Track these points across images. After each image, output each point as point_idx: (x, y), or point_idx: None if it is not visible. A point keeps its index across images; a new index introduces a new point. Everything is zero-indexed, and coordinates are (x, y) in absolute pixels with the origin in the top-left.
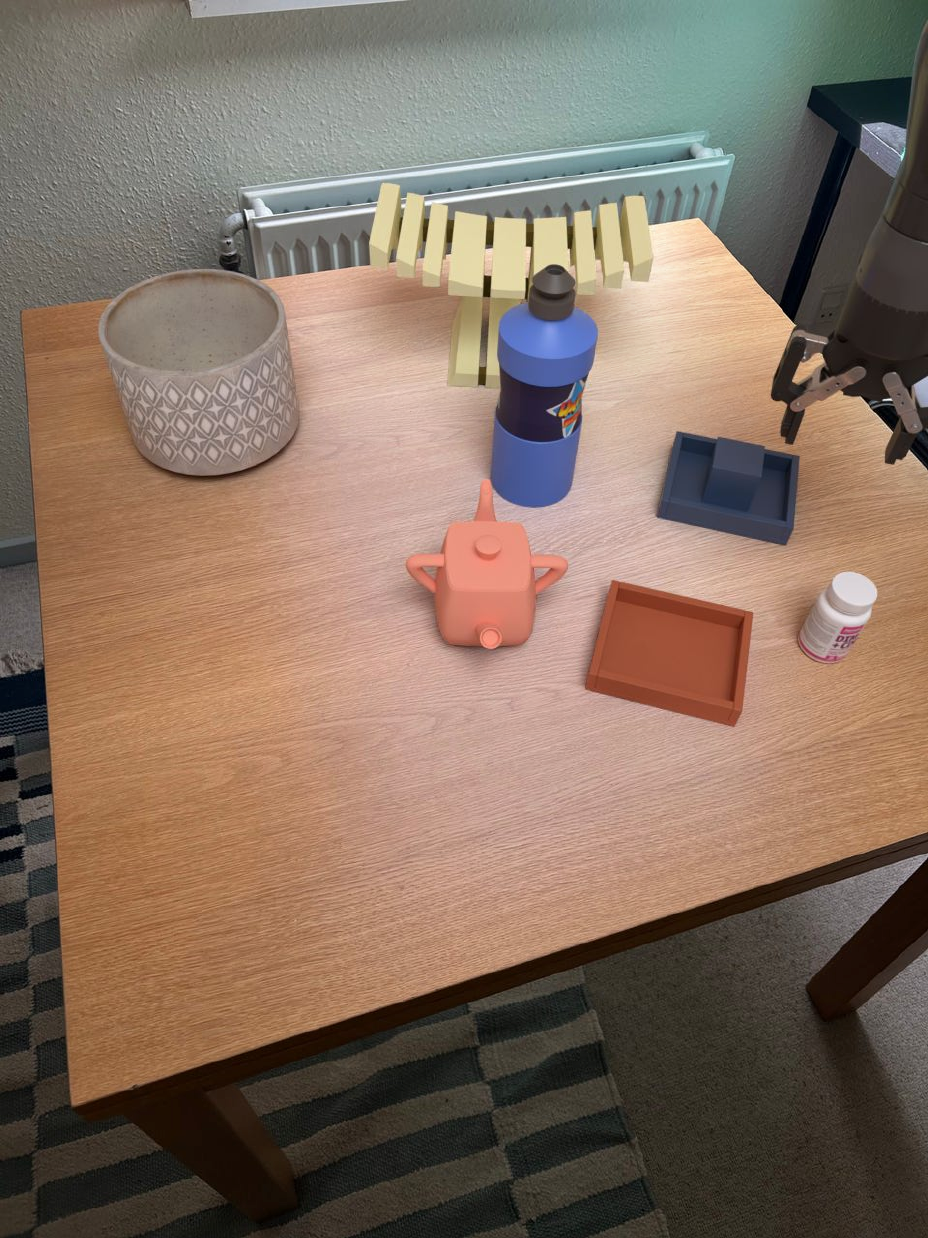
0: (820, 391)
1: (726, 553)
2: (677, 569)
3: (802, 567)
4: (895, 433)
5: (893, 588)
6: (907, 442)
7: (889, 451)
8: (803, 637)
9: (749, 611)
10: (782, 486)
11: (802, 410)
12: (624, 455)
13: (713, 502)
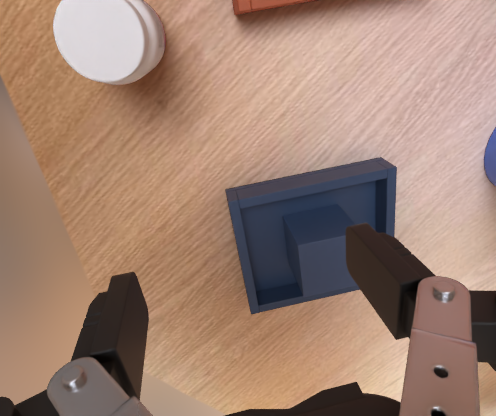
0: (458, 353)
1: (289, 141)
2: (342, 82)
3: (196, 164)
4: (135, 347)
5: (82, 186)
6: (92, 333)
7: (133, 299)
8: (156, 14)
9: (245, 9)
10: (254, 270)
11: (406, 291)
12: (428, 231)
13: (325, 207)
